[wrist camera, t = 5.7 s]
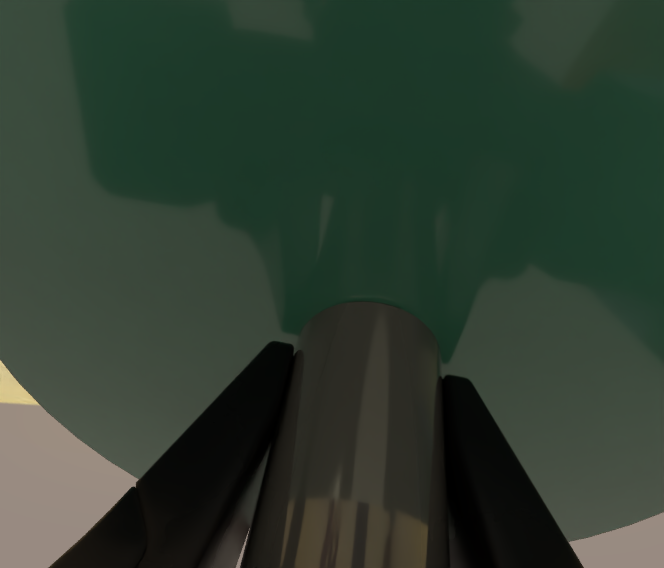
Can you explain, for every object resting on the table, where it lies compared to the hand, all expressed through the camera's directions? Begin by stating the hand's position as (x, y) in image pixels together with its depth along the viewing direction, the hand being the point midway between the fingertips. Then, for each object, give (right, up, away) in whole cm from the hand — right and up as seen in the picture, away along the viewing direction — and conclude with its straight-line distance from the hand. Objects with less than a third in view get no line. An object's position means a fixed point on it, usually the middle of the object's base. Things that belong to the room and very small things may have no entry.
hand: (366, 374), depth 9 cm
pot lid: (0, +1, +1) cm, 1 cm away
